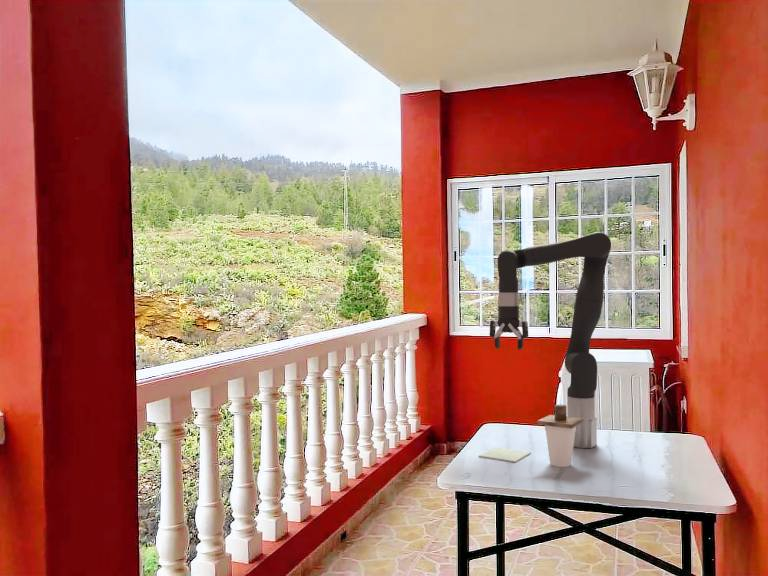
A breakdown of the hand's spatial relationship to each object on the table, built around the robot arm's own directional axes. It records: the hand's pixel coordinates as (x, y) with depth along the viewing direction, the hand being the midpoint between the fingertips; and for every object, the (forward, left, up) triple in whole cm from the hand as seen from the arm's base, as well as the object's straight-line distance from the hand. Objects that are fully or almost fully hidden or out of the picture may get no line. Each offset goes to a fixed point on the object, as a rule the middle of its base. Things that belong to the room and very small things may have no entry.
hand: (508, 349), depth 243 cm
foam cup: (-27, +22, -33) cm, 48 cm away
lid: (-27, +22, -20) cm, 40 cm away
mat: (-8, +22, -33) cm, 41 cm away
